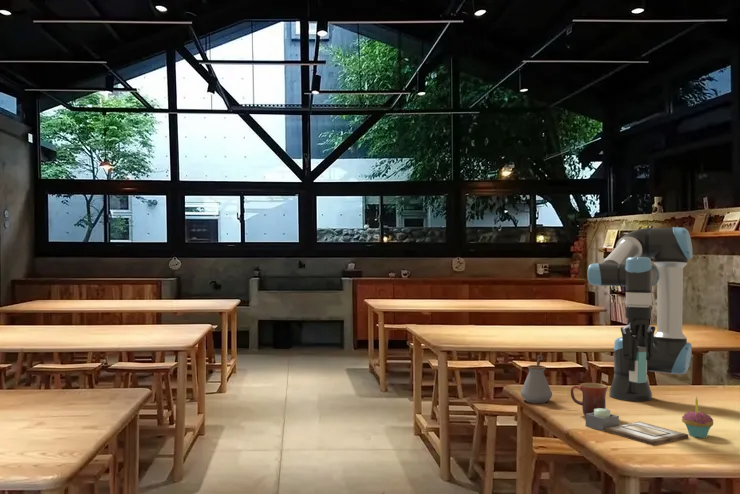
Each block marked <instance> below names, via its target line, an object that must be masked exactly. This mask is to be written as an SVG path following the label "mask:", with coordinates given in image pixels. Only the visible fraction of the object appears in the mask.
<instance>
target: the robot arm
mask: <svg viewBox="0 0 740 494" xmlns="http://www.w3.org/2000/svg"><path fill="white" fill-rule="evenodd" d="M693 253H694V252H693V244H692V238H691V235H690V232H689V230H688V229H687V228H685V227H674V226H673V227H669V226H668V227H643V228H639V229H636V230H633V231H631V232H628V233H626V234H625V235H623V236H622V237H621V238H619V239H618V240H617V241H616V244H615V248H614V249H613V250H612V251H611V252H610V254H608V256H607V257H606V258H605V259H604V260H603V261H602V262H601V263H598V262H596V263H590V264H589V265H588V267H587V275H586V276H587V281H588V283H589V285H591V286H598V287H599V286H600V287H602V286H603V287H625V305H627V306H626V307H625V309H624V310H625V311H624V312H625V318H626V319H627V322H626V325H625V326H621V327H620V332H621V336H620V337H617V338H616V339H614V344H613V345H614V347H613V348H614V349H613V359H614V360H613V361H614V363H613V372H614V373H613V374H614V375H613V378H612V382H611V385H610V387H609V395H608V396H609V397H611V398H613V399H616V400H622V401H633V402H645V401H650V400H652V399H653V392H652V390H651V387H650V386H651V385H650V383H649V379H648V372H653V373H662V374H671V375H683V374H686V373H687V372H688V370H689V367H690V364H691V359H692V354H693V353H692V351H693V350H692V347H693V346H692V343H691V342H688V338H687V336H686V335H685V334H684V333H683V301H684V300H683V297H684V296H683V293H684V292H683V287H684V284H683V281H684V268H685V267H686V266H687V265H688V260H691V259H692V258H693ZM651 259H653V264H652V260H651ZM655 285H657V291H656V292H657V297H656V298H657V303H656V304H657V305H656V307H657V308H656V309H657V310H656V311H657V312H656V318H657V319H656V326H652V325H650V322H649V320H651V318H652V308H651V306H652V287H654V286H655ZM655 331H656V332H655ZM638 346H642V347H646V382H645V383H636V382H638V361H636V356H637V347H638ZM631 381H632V382H631Z"/></svg>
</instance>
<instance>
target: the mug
mask: <svg viewBox="0 0 740 494" xmlns="http://www.w3.org/2000/svg"><path fill="white" fill-rule="evenodd" d="M574 389H578V390H579V391H581V393H582V400H578V399H577V398H576V397H575V393H574ZM607 390H608V385H606V384H603V383H596V382H584V383H583V382H582V383H580V384H579V385H572V387H571V388H570V397H571V399H572V401H573V402H574V403H575V404H577V405H578V406H581V407H582V409H581V410H582V413H583V415H584V416H585V417H586V414H588V413H594V409H597V408H602V409H607V408H606V406H607V405H606V403H607V402H606V395H607Z"/></svg>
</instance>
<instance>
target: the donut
mask: <svg viewBox="0 0 740 494" xmlns="http://www.w3.org/2000/svg"><path fill="white" fill-rule="evenodd" d="M681 418H682V419H681V422H682V423H684V424H685V426H686V428H687V431H688V436H691V437H695V438H703V439H704V438H706V437H708V433H709V431H710V429H711V428H712V427H713V425H714V419H713V417H711V416H710V415H709V414H707V413H705V412H702V411H699V399H698V397H697V396H696V397H695V410H692V411H687V412H686V413H684V415H682V416H681Z"/></svg>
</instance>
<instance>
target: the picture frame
mask: <svg viewBox="0 0 740 494" xmlns="http://www.w3.org/2000/svg"><path fill="white" fill-rule="evenodd" d="M604 432H607V433H610V434H614V435H617V436H620V437H622V438H627V439H630V440H633V441H637V442H640V443H644V444H647V445H650V446H655V445H659V444H660V445H661V444H664V443H670V442H674V441H675V442H676V441H680V440H684V439H688V438H689V433H684V432H681V431H677V430H673V429H669V428H665V427H662V426H658V425H654V424H652V423H646V422H643V421H636V422H630V423H624V424H619V425H618V426H612V427H606V428H605V431H604Z"/></svg>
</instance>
